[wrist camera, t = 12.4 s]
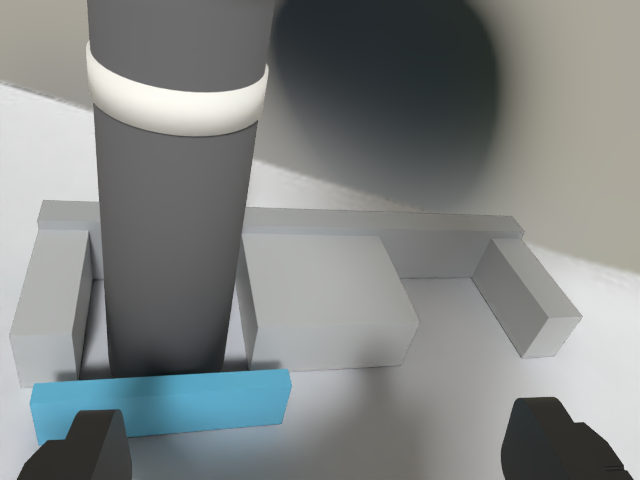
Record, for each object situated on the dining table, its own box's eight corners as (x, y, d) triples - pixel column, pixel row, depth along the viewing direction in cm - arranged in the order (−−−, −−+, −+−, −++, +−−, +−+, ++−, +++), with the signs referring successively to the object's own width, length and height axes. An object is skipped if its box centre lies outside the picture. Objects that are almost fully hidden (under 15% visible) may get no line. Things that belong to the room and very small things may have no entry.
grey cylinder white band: (221, 309, 26) (264, -25, 17) (231, 397, 22) (293, 30, 13) (110, 312, 24) (91, -53, 15) (101, 406, 20) (68, -1, 11)
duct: (488, 260, 33) (512, 216, 31) (582, 397, 26) (621, 350, 24) (51, 258, 26) (43, 200, 24) (6, 448, 19) (-11, 386, 16)
